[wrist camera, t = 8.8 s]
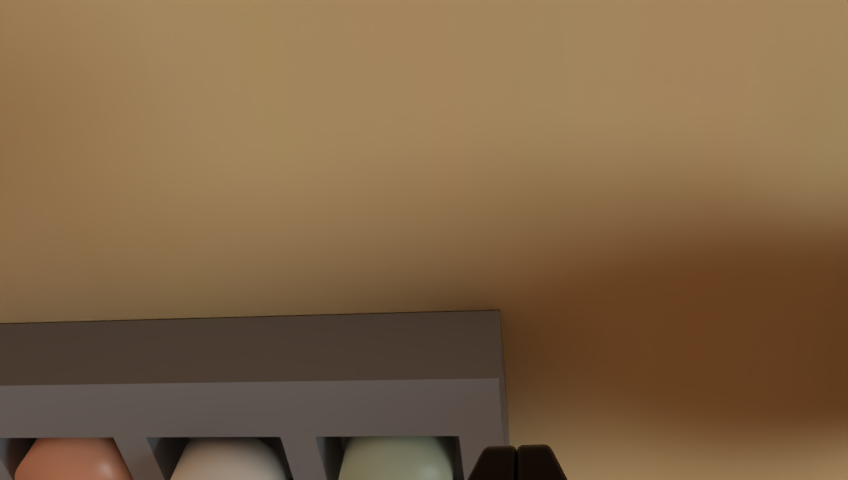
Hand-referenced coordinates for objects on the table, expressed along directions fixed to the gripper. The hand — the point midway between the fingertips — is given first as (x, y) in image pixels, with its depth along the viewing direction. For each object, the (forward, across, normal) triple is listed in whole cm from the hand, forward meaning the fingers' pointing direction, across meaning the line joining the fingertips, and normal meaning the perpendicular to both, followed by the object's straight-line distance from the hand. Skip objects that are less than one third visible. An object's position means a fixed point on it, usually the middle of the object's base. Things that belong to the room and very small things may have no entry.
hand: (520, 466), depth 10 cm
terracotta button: (+10, +16, +11) cm, 22 cm away
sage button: (+10, +5, +11) cm, 16 cm away
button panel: (+12, +10, +11) cm, 19 cm away
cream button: (+9, +10, +11) cm, 18 cm away
